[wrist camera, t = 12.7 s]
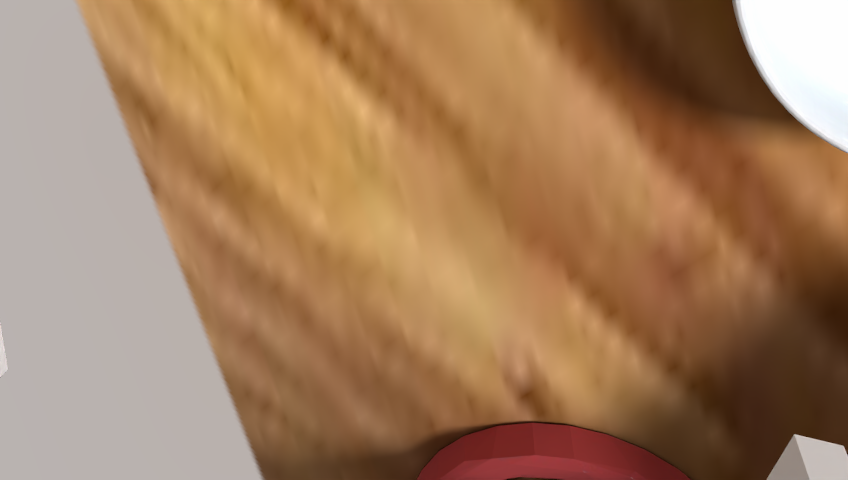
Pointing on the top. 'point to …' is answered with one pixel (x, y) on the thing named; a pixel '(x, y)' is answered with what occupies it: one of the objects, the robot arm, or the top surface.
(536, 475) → the stand mixer
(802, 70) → the serving bowl
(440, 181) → the top surface
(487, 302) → the top surface
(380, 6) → the top surface
